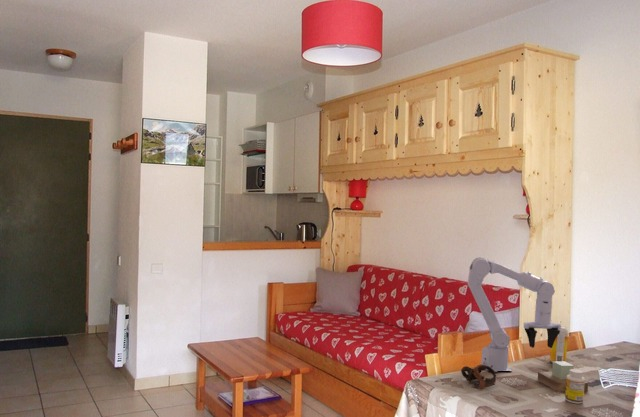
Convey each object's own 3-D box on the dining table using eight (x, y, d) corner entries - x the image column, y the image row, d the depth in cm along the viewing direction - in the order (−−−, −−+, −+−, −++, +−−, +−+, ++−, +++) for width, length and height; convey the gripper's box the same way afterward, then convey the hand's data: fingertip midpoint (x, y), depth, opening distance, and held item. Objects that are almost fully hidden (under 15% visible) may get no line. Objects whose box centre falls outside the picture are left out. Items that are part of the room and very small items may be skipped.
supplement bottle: (567, 396, 189) (569, 367, 188) (585, 401, 185) (587, 371, 185) (562, 400, 184) (564, 370, 184) (580, 405, 181) (582, 374, 181)
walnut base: (557, 391, 194) (558, 383, 193) (537, 380, 205) (538, 372, 205) (587, 391, 196) (588, 382, 196) (566, 379, 208) (566, 371, 208)
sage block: (560, 379, 198) (561, 365, 198) (551, 374, 203) (552, 361, 202) (572, 379, 199) (573, 365, 199) (564, 374, 204) (565, 361, 203)
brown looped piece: (490, 382, 201) (498, 367, 197) (489, 402, 193) (498, 386, 188) (458, 371, 202) (465, 355, 198) (456, 389, 194) (464, 373, 190)
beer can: (562, 361, 233) (565, 326, 233) (567, 365, 227) (570, 329, 227) (548, 360, 234) (550, 324, 233) (552, 364, 228) (555, 328, 227)
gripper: (531, 313, 208) (529, 349, 208) (566, 314, 210) (564, 350, 211) (521, 309, 215) (519, 344, 215) (555, 310, 217) (553, 345, 218)
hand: (540, 347), depth 213 cm, fingers open, 7 cm apart
